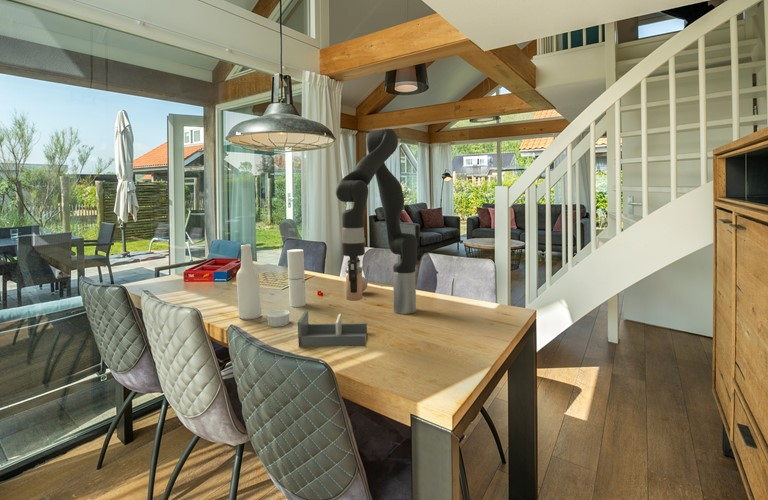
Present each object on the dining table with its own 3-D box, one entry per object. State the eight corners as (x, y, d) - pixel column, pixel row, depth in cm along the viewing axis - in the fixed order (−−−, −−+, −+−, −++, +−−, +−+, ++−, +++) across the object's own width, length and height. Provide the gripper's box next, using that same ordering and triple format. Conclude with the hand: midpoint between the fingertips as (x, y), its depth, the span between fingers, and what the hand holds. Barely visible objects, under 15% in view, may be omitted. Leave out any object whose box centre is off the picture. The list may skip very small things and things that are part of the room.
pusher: (341, 332, 143) (341, 313, 142) (338, 343, 133) (337, 322, 132) (339, 332, 143) (338, 313, 142) (336, 343, 133) (335, 323, 132)
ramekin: (271, 329, 149) (271, 318, 149) (263, 323, 157) (262, 312, 156) (293, 324, 155) (293, 313, 154) (284, 318, 162) (284, 308, 161)
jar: (363, 296, 139) (362, 266, 137) (362, 300, 133) (361, 269, 131) (347, 296, 139) (346, 266, 137) (345, 300, 133) (344, 269, 131)
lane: (366, 332, 144) (366, 309, 143) (365, 346, 131) (364, 321, 130) (306, 333, 144) (305, 310, 143) (298, 347, 131) (297, 322, 130)
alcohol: (266, 315, 166) (261, 244, 161) (248, 321, 158) (243, 246, 154) (252, 312, 171) (248, 242, 166) (234, 317, 163) (229, 245, 159)
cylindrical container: (286, 304, 181) (284, 250, 178) (300, 301, 186) (297, 248, 183) (295, 307, 176) (292, 252, 173) (308, 304, 181) (306, 250, 178)
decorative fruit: (371, 294, 198) (370, 274, 197) (356, 296, 194) (355, 276, 193) (362, 290, 206) (362, 271, 205) (348, 292, 202) (347, 273, 201)
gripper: (363, 243, 126) (364, 295, 128) (365, 238, 140) (366, 285, 142) (339, 243, 126) (341, 295, 128) (344, 238, 140) (345, 285, 142)
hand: (354, 290), depth 135 cm, fingers closed on jar, 5 cm apart
